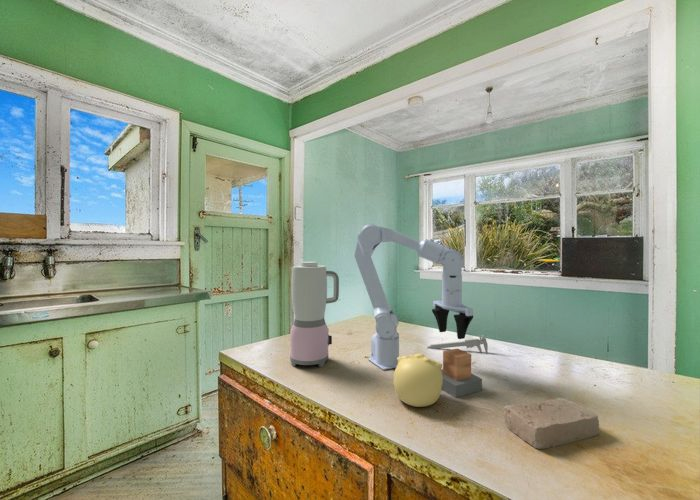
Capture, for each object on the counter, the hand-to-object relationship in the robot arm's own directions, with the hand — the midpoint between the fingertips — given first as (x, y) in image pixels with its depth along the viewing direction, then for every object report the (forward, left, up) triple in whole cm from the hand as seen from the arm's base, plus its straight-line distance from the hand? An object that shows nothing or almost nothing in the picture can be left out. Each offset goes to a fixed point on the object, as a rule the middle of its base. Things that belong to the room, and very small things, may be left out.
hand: (451, 335), depth 93 cm
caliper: (-12, +14, -11) cm, 21 cm away
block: (+9, -7, -7) cm, 13 cm away
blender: (-24, -35, -11) cm, 44 cm away
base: (+9, -7, -10) cm, 15 cm away
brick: (+32, -4, -11) cm, 34 cm away
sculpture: (+10, -20, -11) cm, 25 cm away
